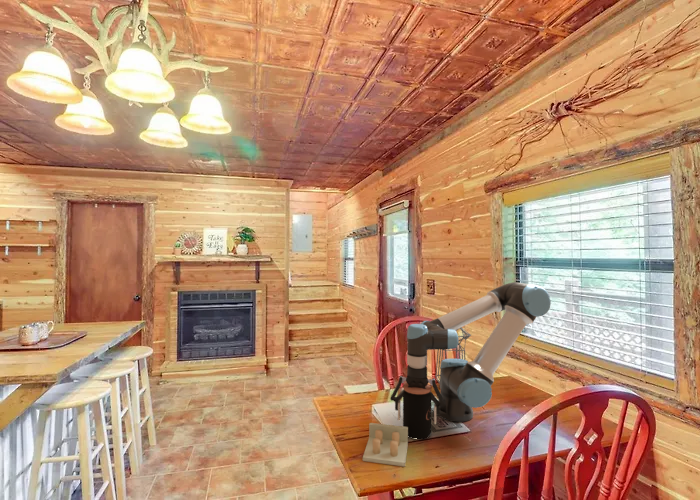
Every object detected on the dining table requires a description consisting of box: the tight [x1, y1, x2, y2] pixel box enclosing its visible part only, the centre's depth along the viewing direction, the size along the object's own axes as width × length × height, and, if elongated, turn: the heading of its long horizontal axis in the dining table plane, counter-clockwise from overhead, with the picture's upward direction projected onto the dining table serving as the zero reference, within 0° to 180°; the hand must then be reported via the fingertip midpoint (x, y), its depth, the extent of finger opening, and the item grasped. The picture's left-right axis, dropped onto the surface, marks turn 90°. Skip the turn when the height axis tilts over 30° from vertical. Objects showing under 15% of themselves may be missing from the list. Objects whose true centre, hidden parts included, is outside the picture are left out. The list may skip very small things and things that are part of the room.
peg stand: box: [362, 422, 409, 467], centre depth 123 cm, size 14×14×6 cm
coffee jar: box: [402, 382, 432, 440], centre depth 135 cm, size 11×11×18 cm
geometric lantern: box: [434, 327, 472, 389], centre depth 177 cm, size 16×16×35 cm
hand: (417, 420), depth 135 cm, fingers open, 13 cm apart
